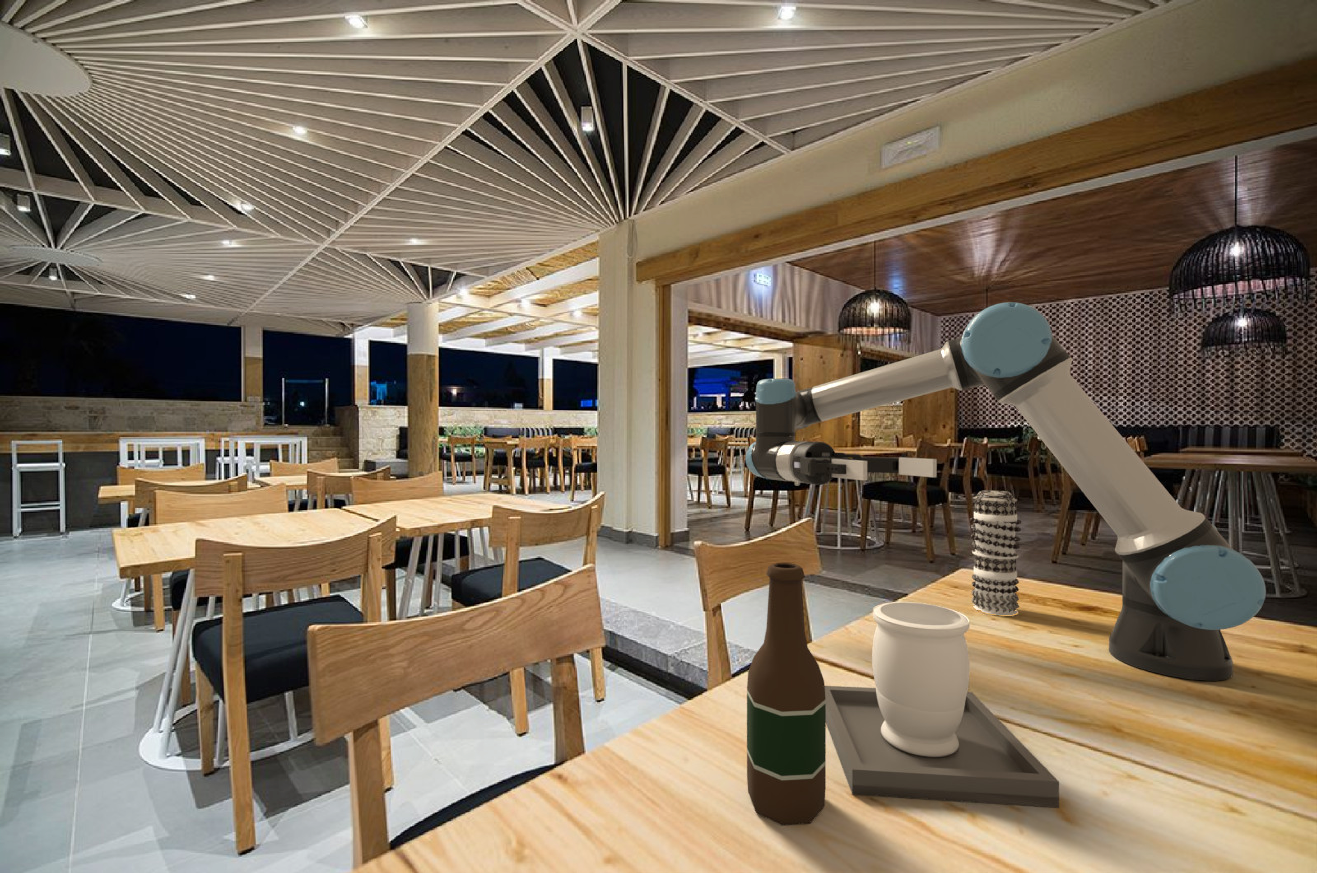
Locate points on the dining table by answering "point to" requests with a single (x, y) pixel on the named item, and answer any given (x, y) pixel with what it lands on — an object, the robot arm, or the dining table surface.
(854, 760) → the tray
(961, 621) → the jar
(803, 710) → the beer bottle
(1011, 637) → the dining table surface
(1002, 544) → the decorative candle
